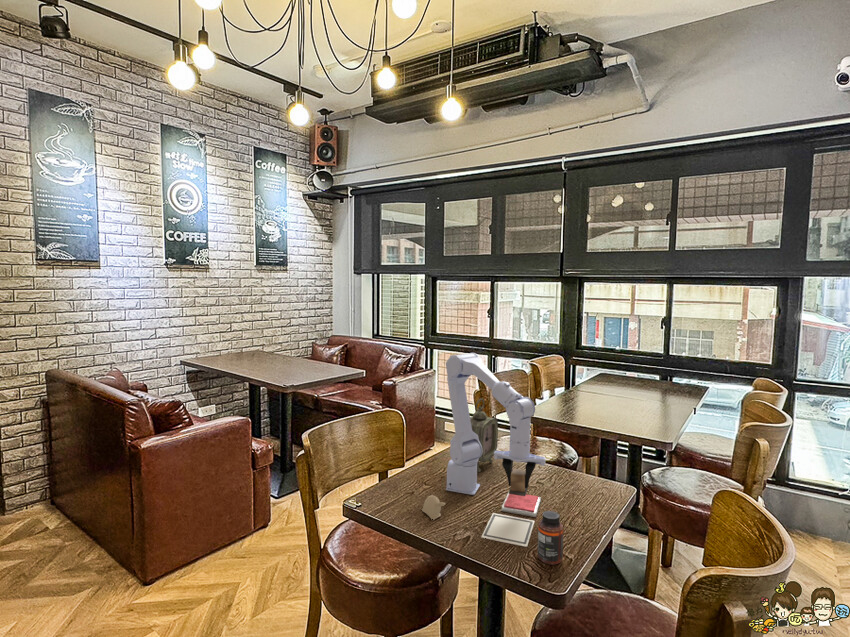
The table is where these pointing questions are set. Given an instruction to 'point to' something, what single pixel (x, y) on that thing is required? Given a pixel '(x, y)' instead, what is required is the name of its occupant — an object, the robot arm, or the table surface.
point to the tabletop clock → (485, 433)
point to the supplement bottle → (550, 538)
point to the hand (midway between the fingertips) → (518, 485)
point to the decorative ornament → (432, 507)
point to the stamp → (518, 482)
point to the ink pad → (521, 504)
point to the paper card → (508, 529)
